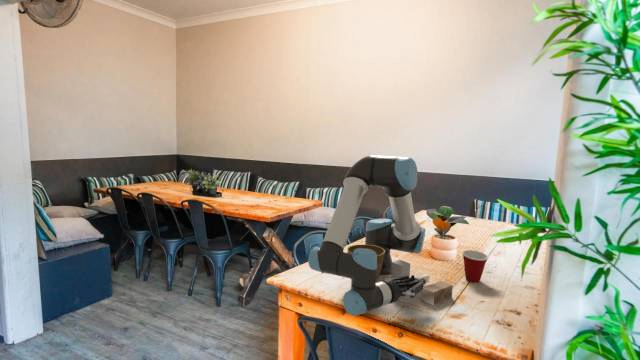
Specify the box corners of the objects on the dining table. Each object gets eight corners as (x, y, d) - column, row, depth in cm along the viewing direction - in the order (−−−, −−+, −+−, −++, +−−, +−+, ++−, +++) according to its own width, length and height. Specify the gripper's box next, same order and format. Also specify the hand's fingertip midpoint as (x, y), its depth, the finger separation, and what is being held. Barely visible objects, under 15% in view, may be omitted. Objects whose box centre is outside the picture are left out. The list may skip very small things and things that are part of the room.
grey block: (400, 295, 141) (402, 265, 140) (390, 291, 145) (392, 262, 144) (408, 292, 144) (410, 263, 143) (398, 288, 148) (400, 259, 147)
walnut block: (433, 292, 133) (452, 285, 141) (422, 287, 137) (441, 280, 145) (432, 305, 134) (451, 297, 141) (421, 300, 138) (440, 292, 145)
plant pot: (358, 278, 157) (360, 242, 156) (389, 287, 148) (391, 249, 146) (338, 288, 146) (339, 249, 144) (370, 299, 137) (372, 258, 135)
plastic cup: (470, 286, 153) (473, 258, 152) (454, 276, 163) (456, 250, 162) (492, 284, 156) (494, 257, 155) (475, 275, 166) (477, 249, 165)
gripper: (368, 296, 125) (412, 282, 139) (398, 311, 115) (442, 294, 129) (370, 275, 124) (413, 263, 138) (400, 288, 114) (443, 273, 128)
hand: (427, 278), depth 134 cm, fingers closed
